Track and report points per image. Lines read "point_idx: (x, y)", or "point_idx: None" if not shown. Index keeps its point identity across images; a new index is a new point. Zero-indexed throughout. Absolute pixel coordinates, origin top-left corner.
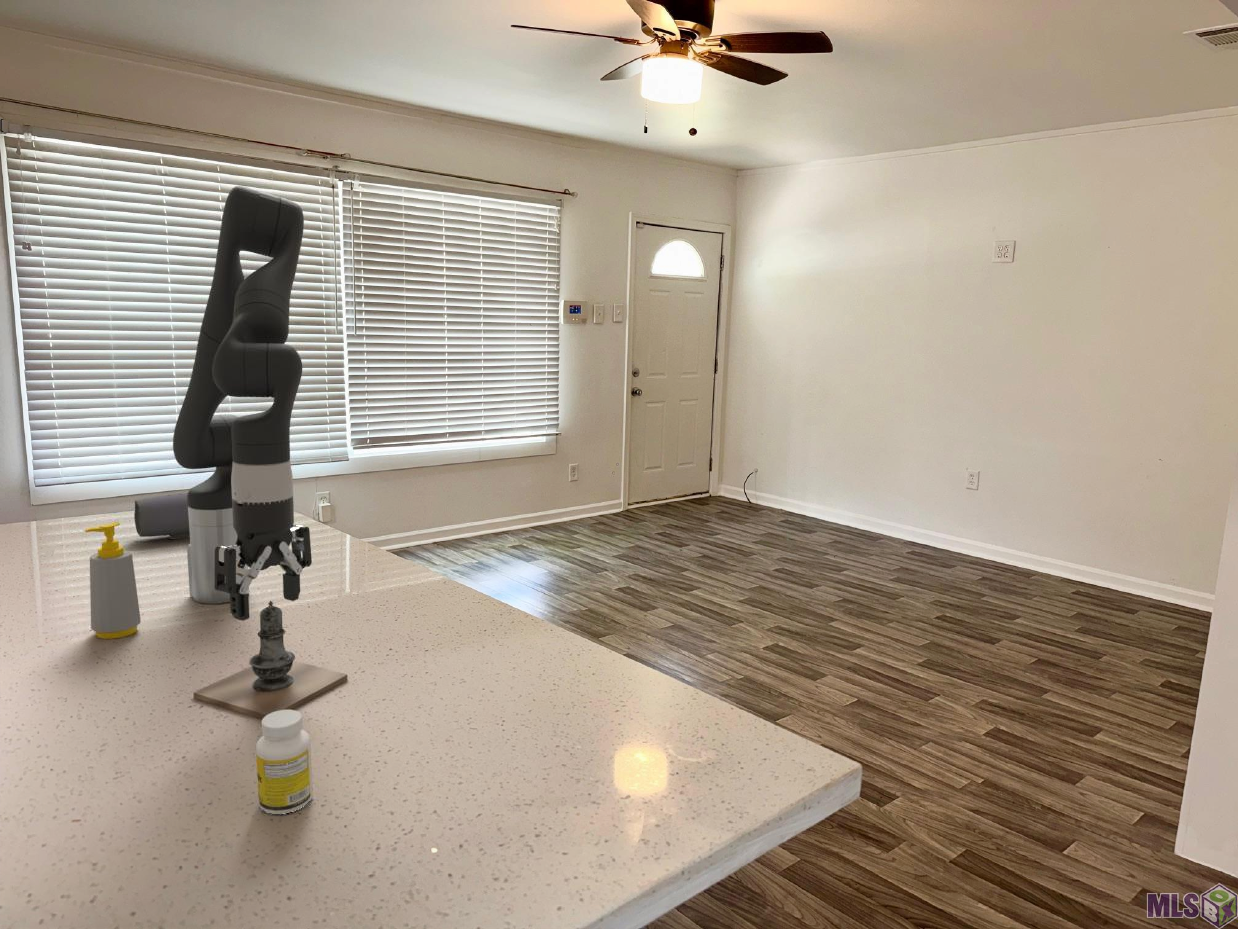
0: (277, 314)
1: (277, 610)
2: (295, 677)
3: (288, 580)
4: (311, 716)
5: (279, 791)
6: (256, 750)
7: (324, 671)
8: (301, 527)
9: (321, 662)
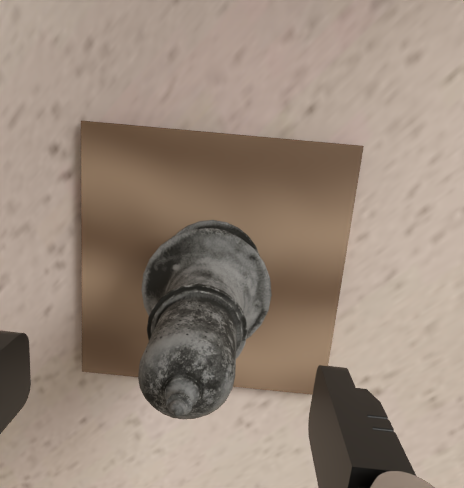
0: None
1: (186, 418)
2: None
3: (332, 480)
4: (144, 418)
5: None
6: None
7: (318, 338)
8: None
9: (391, 270)
